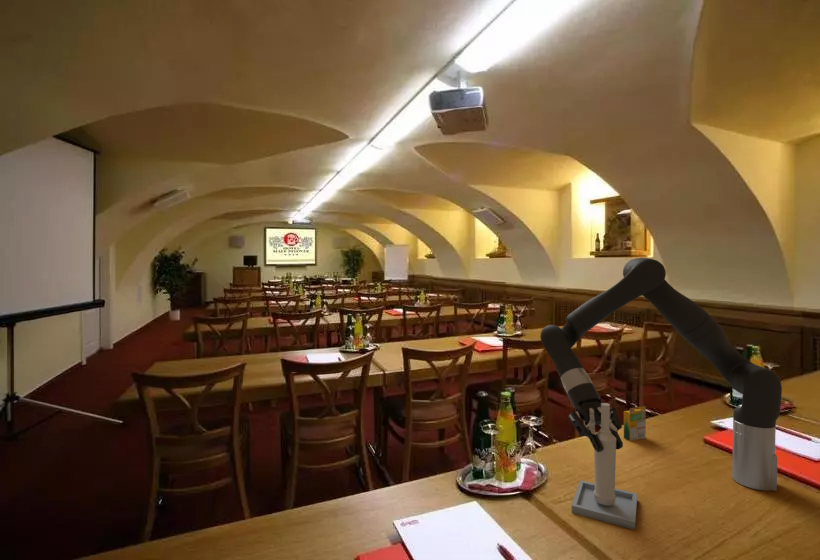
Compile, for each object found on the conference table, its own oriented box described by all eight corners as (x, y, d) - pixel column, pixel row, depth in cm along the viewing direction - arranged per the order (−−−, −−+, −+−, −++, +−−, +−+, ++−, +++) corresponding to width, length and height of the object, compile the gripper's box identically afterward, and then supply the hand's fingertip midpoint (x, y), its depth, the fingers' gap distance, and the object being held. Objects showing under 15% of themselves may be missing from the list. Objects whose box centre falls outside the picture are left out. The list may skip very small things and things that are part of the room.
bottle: (614, 496, 108) (615, 402, 107) (617, 507, 103) (618, 408, 102) (592, 493, 110) (593, 400, 109) (594, 504, 105) (595, 406, 104)
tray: (637, 500, 109) (637, 493, 109) (635, 529, 97) (635, 522, 97) (580, 486, 116) (580, 480, 116) (571, 512, 104) (571, 505, 104)
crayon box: (639, 435, 150) (639, 403, 150) (646, 438, 147) (646, 406, 147) (623, 437, 148) (623, 405, 148) (629, 441, 145) (630, 408, 145)
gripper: (563, 383, 111) (593, 447, 100) (608, 379, 114) (642, 440, 103) (551, 397, 116) (579, 458, 105) (595, 392, 120) (626, 451, 109)
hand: (610, 449), depth 104 cm, fingers closed on bottle, 5 cm apart
